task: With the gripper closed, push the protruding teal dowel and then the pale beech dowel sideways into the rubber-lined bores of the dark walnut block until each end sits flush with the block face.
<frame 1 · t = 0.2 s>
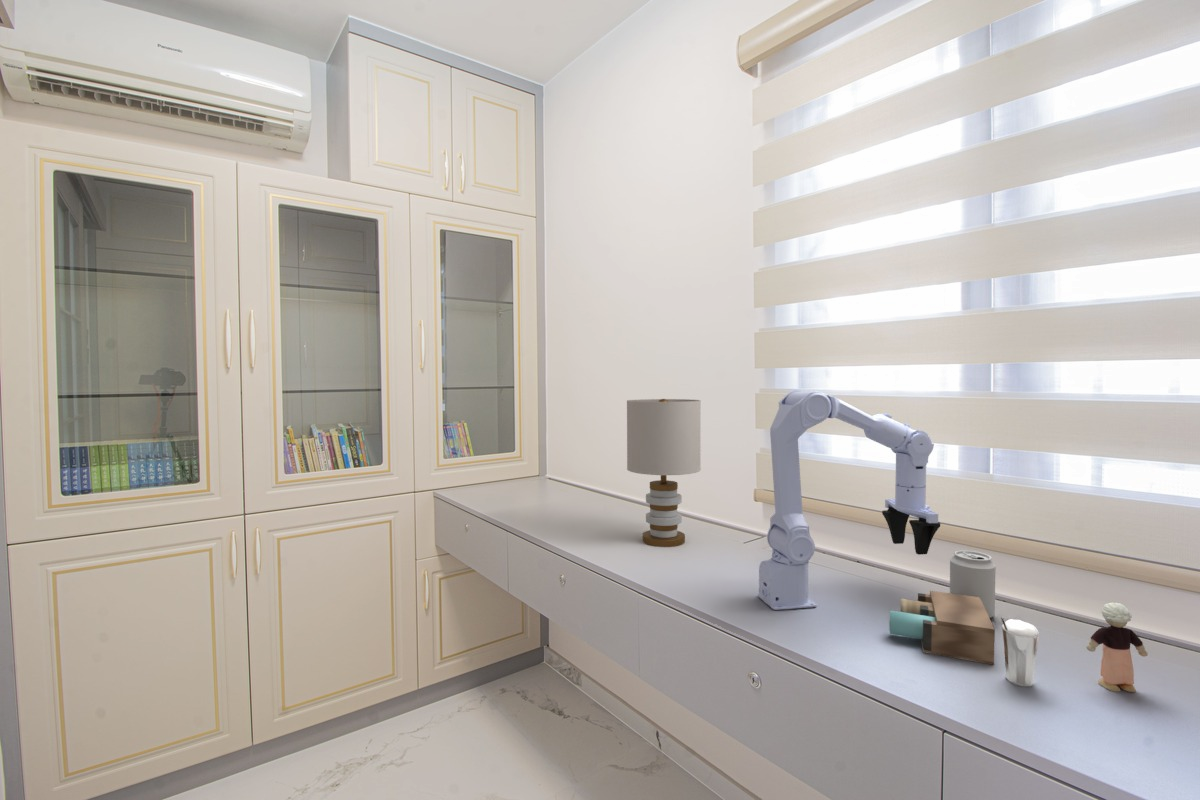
hand: (909, 548, 122), 10 cm above the table, tool pointing down, fingers open, 7 cm apart
beech peg: (931, 614, 105), point 3 cm above the table, slide at 3.0 cm
can: (971, 615, 111), on the table
lamp: (663, 541, 164), on the table
grandmother figurine: (1113, 687, 85), on the table
milkshake: (1016, 682, 87), on the table
teal peg: (921, 627, 100), point 3 cm above the table, slide at 5.0 cm
walnut block: (952, 639, 101), on the table
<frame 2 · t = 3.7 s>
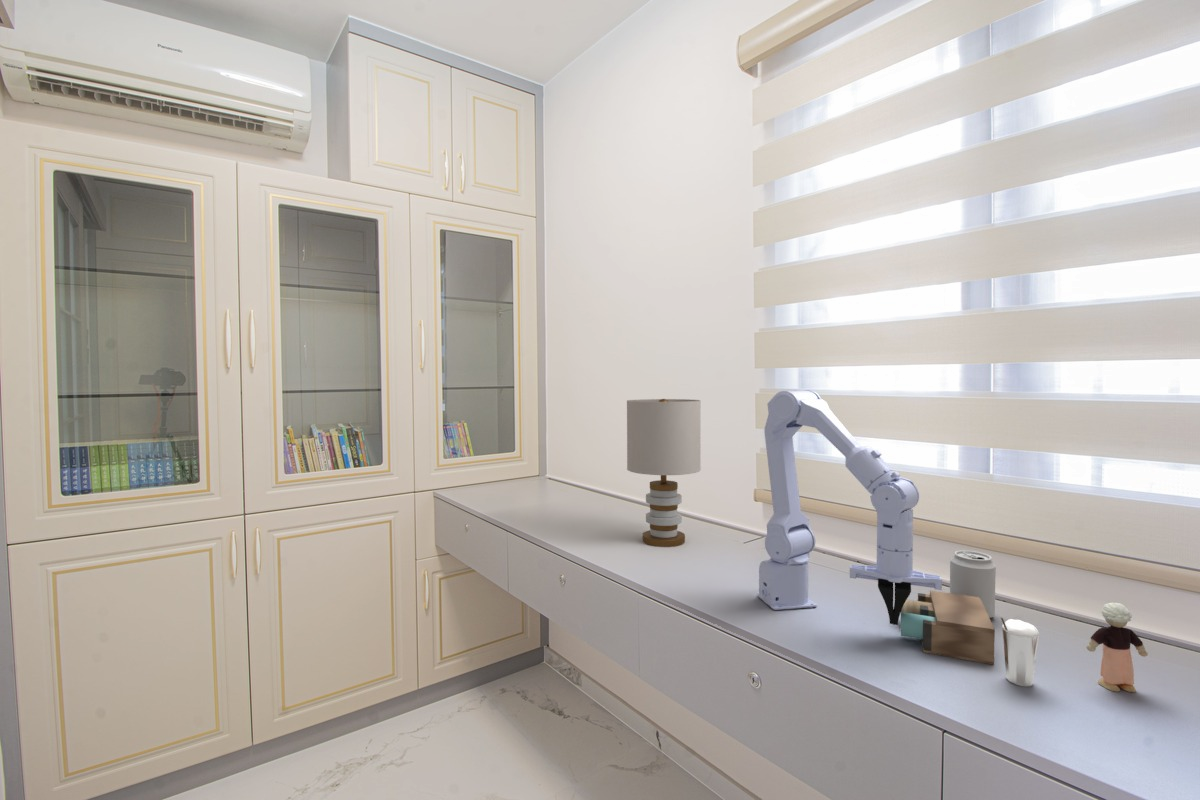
hand: (893, 622, 102), 3 cm above the table, tool pointing down, fingers closed
teal peg: (933, 629, 99), point 3 cm above the table, slide at 3.2 cm, touching gripper
everything else where it was.
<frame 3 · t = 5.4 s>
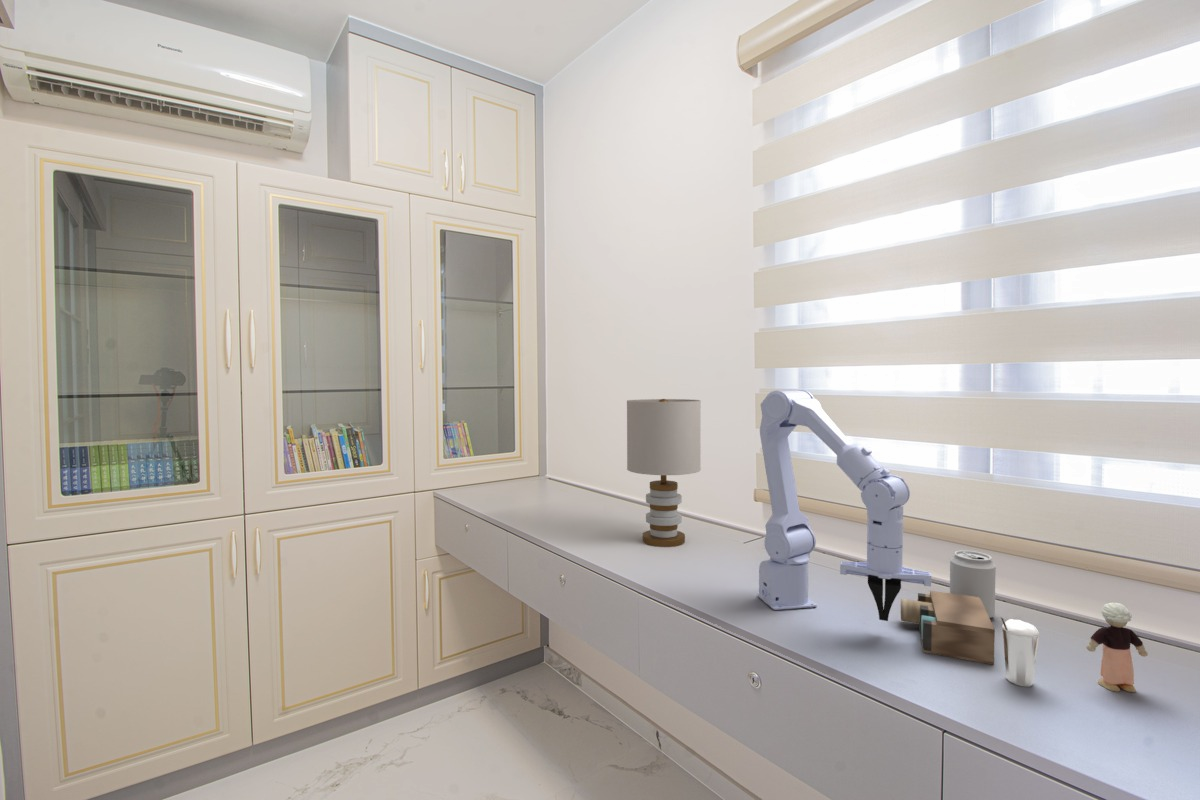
hand: (883, 618, 102), 3 cm above the table, tool pointing down, fingers closed
teal peg: (955, 632, 97), point 3 cm above the table, slide at 0.0 cm
everything else where it was.
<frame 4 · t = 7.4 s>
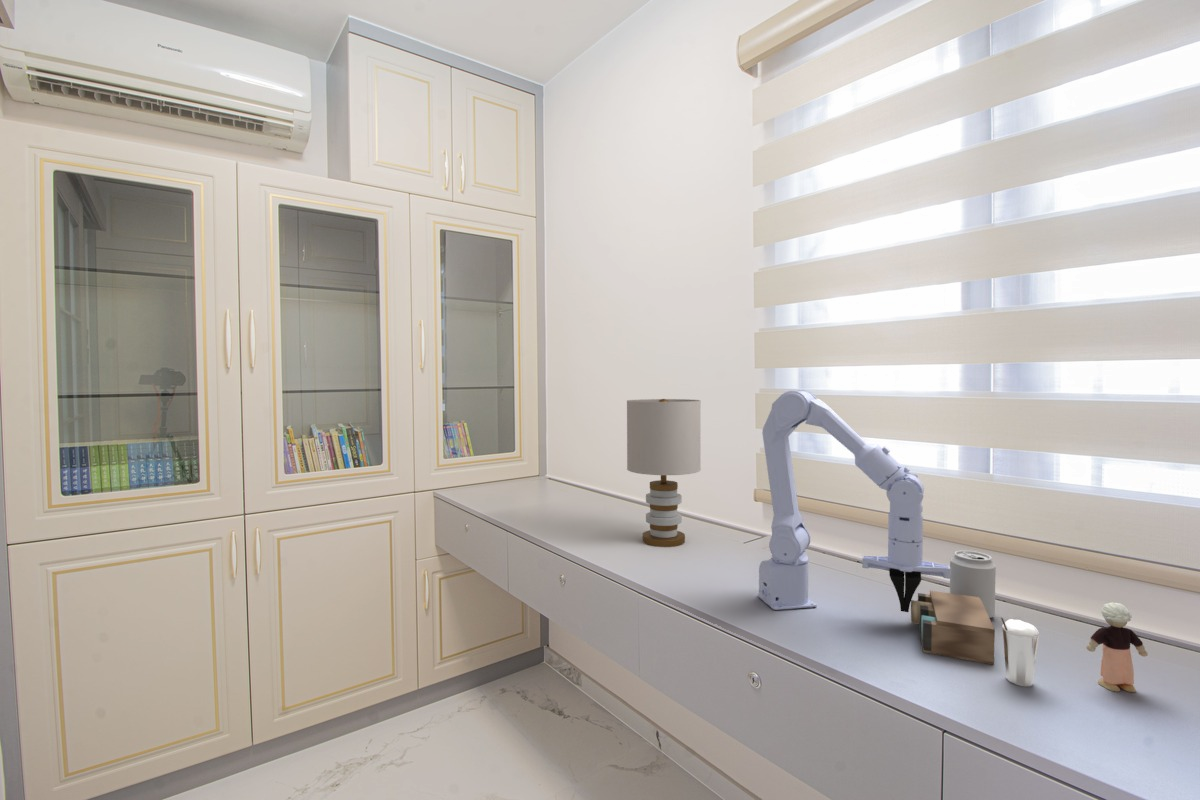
hand: (904, 609, 107), 3 cm above the table, tool pointing down, fingers closed
beech peg: (942, 615, 104), point 3 cm above the table, slide at 1.3 cm, touching gripper
everything else where it was.
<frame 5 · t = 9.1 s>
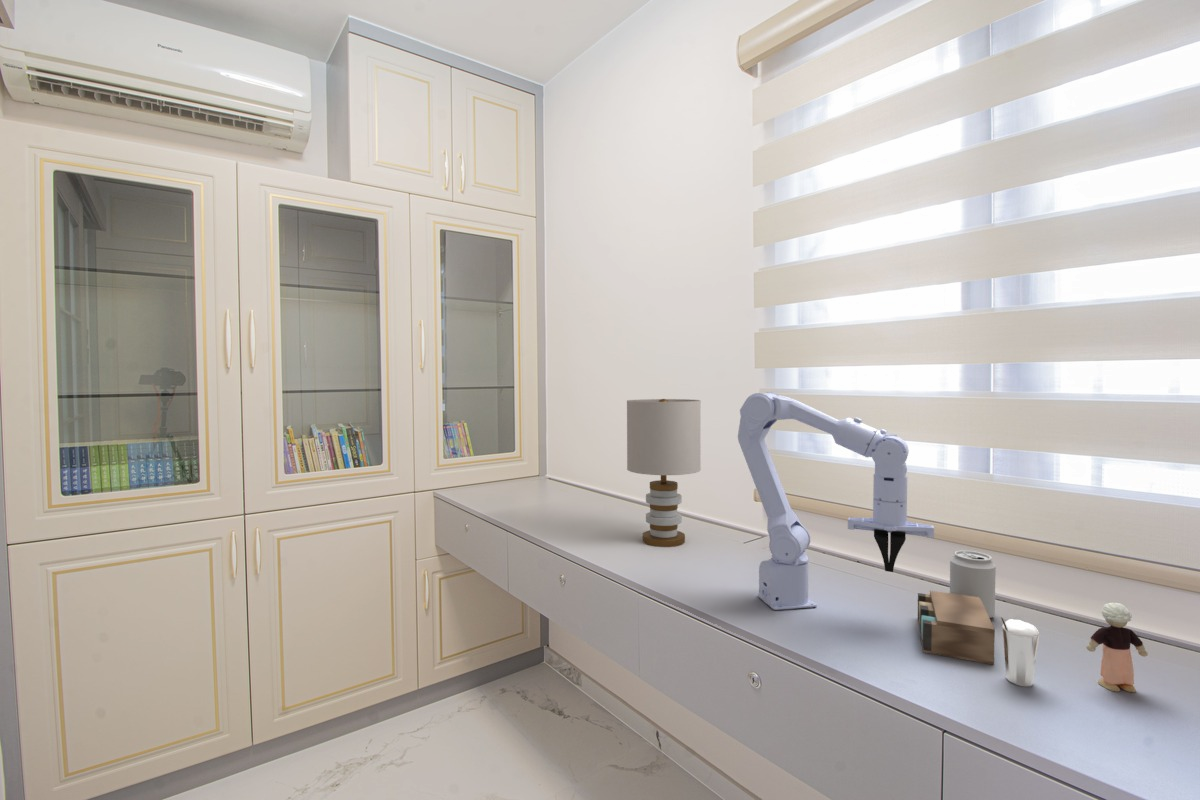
hand: (888, 570, 108), 10 cm above the table, tool pointing down, fingers closed
beech peg: (950, 617, 104), point 3 cm above the table, slide at 0.0 cm
everything else where it was.
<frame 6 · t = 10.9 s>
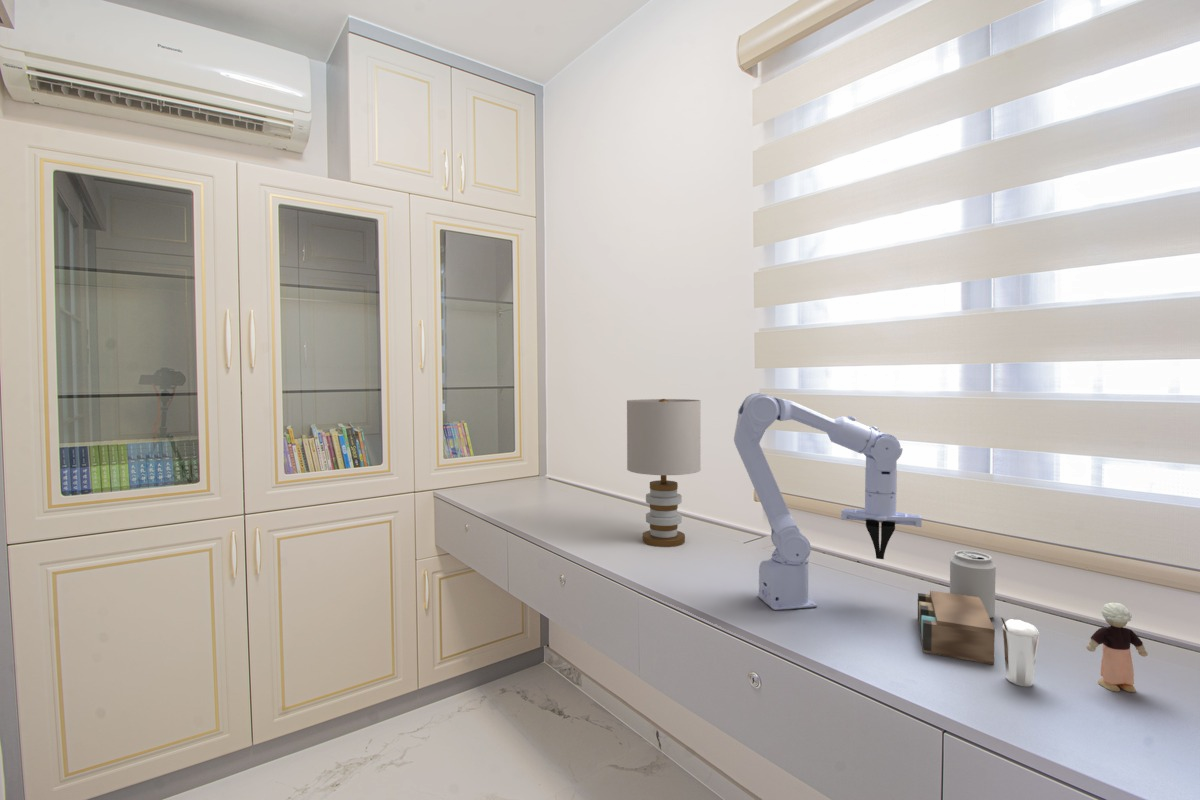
hand: (879, 557, 116), 10 cm above the table, tool pointing down, fingers closed
nothing on the table moved.
at the end: teal peg slide at 0.0 cm; beech peg slide at 0.0 cm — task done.
